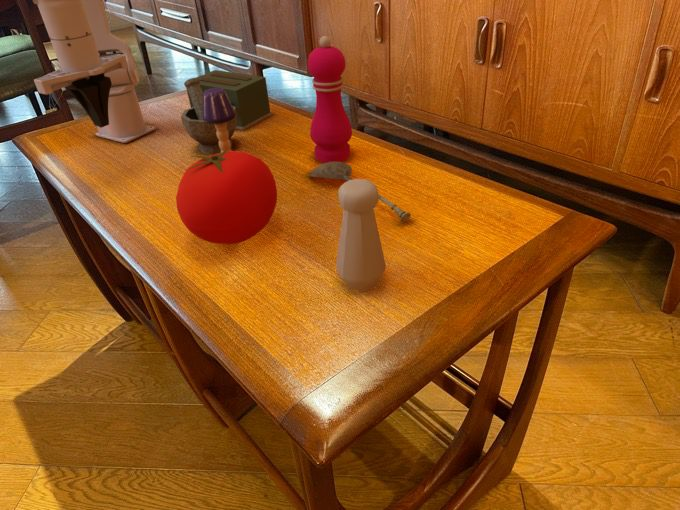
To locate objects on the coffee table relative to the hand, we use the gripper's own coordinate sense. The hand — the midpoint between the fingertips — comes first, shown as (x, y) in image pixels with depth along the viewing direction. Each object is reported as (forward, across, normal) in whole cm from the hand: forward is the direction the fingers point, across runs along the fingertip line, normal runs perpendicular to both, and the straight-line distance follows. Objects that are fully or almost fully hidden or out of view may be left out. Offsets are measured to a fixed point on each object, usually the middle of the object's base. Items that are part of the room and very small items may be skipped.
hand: (102, 125), depth 82 cm
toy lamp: (+10, +4, -23) cm, 25 cm away
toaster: (+9, +30, +1) cm, 31 cm away
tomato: (+10, -4, -30) cm, 32 cm away
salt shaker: (+10, -5, -51) cm, 52 cm away
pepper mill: (+10, +23, -29) cm, 38 cm away
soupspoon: (+10, +13, -40) cm, 43 cm away
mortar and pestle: (+10, +17, -6) cm, 21 cm away
